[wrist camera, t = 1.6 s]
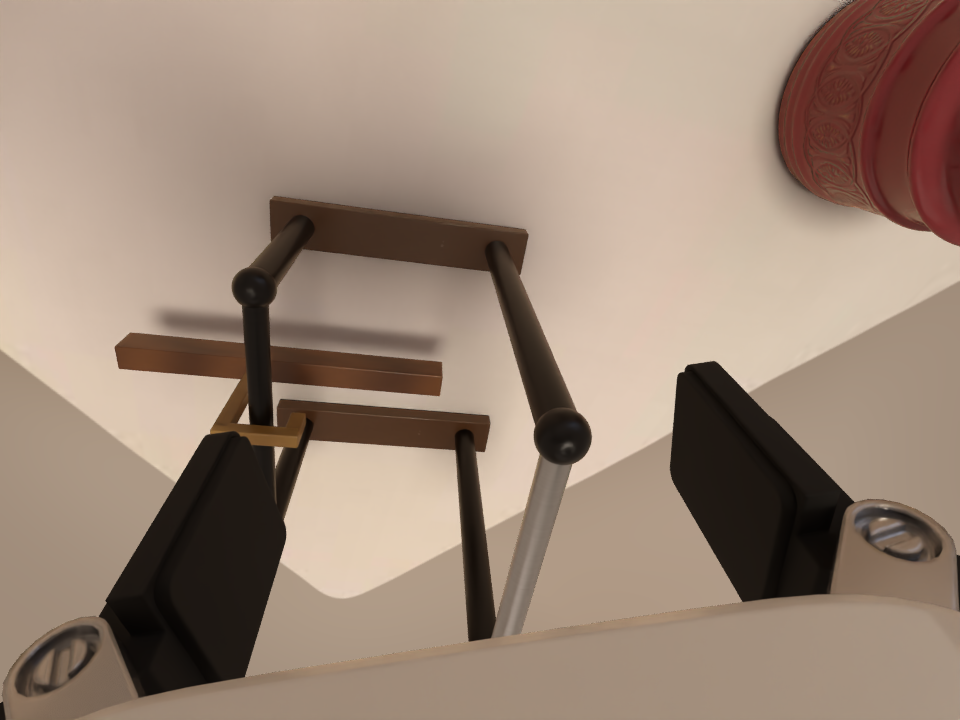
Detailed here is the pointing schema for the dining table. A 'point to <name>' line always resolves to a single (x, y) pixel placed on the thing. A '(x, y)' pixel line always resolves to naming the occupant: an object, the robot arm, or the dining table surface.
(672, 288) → the dining table surface
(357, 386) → the hanger
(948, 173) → the kitchen canister
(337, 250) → the rack
